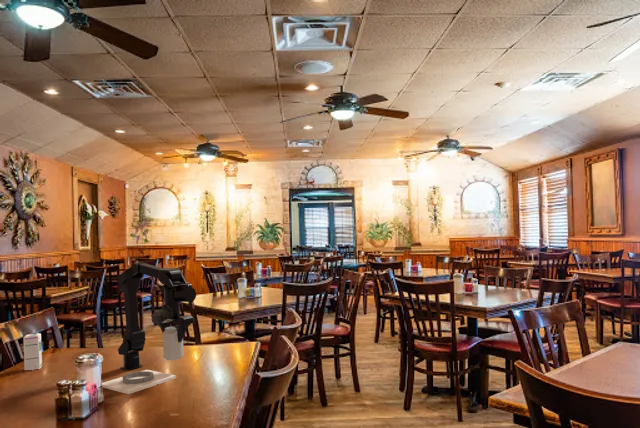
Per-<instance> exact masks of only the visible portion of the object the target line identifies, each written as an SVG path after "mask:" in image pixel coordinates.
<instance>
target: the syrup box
mask: <svg viewBox="0 0 640 428" xmlns="http://www.w3.org/2000/svg"><path fill="white" fill-rule="evenodd" d="M42 351H43V349H42V334H41V333H38V332H37V333H30V334H26V335H25V336H23V361H24V363H23V365H24V371H25V370H32V371H35V370H34V369H39V370H41V368H42V367H43V357H42V356H43V352H42Z"/></svg>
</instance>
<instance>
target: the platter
mask: <svg viewBox="0 0 640 428" xmlns="http://www.w3.org/2000/svg"><path fill="white" fill-rule="evenodd" d="M174 379H177V375H175V374H170V373H166V372H160V371H156V370H150V369H145V370H141V371H135V372H131V373H127V374H125V375H123V376H121V377H117V378H114V379H111V380H107V381H104V382H101V383H102V385H103V387H102V388H103V389H107V390H110V391H111V390H112V391H115V392H119V393H122V394H126V395H130V394H133V393H136V392H139V391H142V390H145V389H148V388H151V387H155V386H157V384H158V385H161V384H164V383H165V382H169V381H173V380H174Z"/></svg>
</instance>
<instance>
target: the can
mask: <svg viewBox="0 0 640 428" xmlns="http://www.w3.org/2000/svg"><path fill="white" fill-rule="evenodd" d="M162 341H163V342H162V345H163V346H162V347H163V358H164V359H165V361H176V360H180V359H182V358H183V357H184V354H185V353H184V338H183V339H182V341H181V342H180V343H179V342H178V335H177V329H176V328H175V327H174V326H171V327H167V328H165V331H164V332H163V333H162Z"/></svg>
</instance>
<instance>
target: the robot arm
mask: <svg viewBox="0 0 640 428" xmlns="http://www.w3.org/2000/svg"><path fill="white" fill-rule="evenodd" d="M145 276H147V277H152V278H154V279H156V280H158V281H159V282H160V283H162V284H163V285H162V286H161V287H160V290H161V291H164V292H163V293H164V303H163V304H162V305H161V309H159V310H157V311H156V312H154V313H152V314H151V315H150V316H151V322H152V323H153V324H155V325H156V326H158V327H159V328H160V330H161V333H162V334H163V332H164V331H165V328H167V327H172V323H175V324H176V325H174V326H173V327H175V328H176V329H177V335H178V342H179V343H180V342H181V341H182V339H183V340H184V338H185V337H184V336H185V334H186V332H187V330H188V328H189V326H191V325H192V324H195V317H193V316H192V315H183V313H181V307H182V306H183V303H193V302H194V301H195V300H196V298H197V291H196V289H195V288H194V287H193V285H192V283H188V282H187V280H186V279H185V277H184V276H183V273H182V272H181V270H180V269H179V268H164V267H160V266H157V265H152V264H148V263H147V262H136V263H134V264H133V265H132V266H131V267H128V268H127V269H126V270H124V271H122V272H121V273H119V276H118V277H117V283H118V287H119V290H121V292H122V293H123V299H124V300H123V301H124V311H125V325H126V327H125V328H126V329H125V331H124V333H123V335H122V343H121V344H120V346H119V347H118V349H117V352H118V355H121V356H123V358H122V359H123V365H122V366H120V367H119V368H120V369H122V370H126V371H131V370H133V369H137V368H141V367H142V368H143V365H144V364H140V352H143V351H144V347H145V345H146V340H147V338H146V331H145V330H143V329H142V328H141V327H140V321H139V320H140V319H139V308H138V307H139V306H138V305H139V304H138V291H139V288H140V286H141V280H142V279H143V278H144V277H145Z"/></svg>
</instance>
